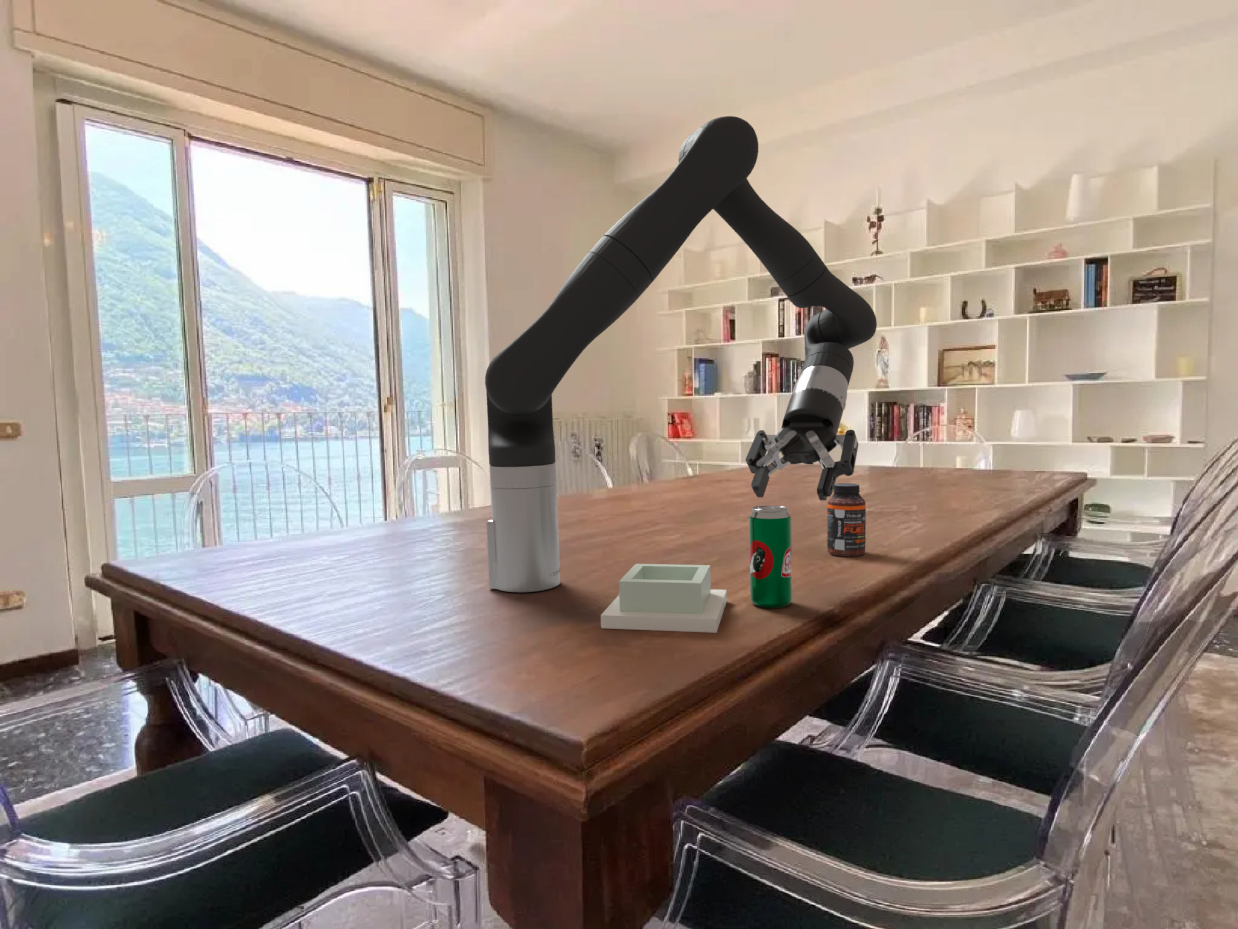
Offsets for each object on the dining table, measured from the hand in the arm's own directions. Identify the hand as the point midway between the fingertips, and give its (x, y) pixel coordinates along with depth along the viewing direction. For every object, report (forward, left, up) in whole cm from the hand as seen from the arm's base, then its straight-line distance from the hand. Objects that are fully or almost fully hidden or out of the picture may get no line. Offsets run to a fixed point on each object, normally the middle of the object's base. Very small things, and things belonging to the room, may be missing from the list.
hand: (788, 495), depth 98 cm
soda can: (-2, -6, -13) cm, 15 cm away
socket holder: (-14, -12, -13) cm, 23 cm away
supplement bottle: (+9, +26, -13) cm, 30 cm away
